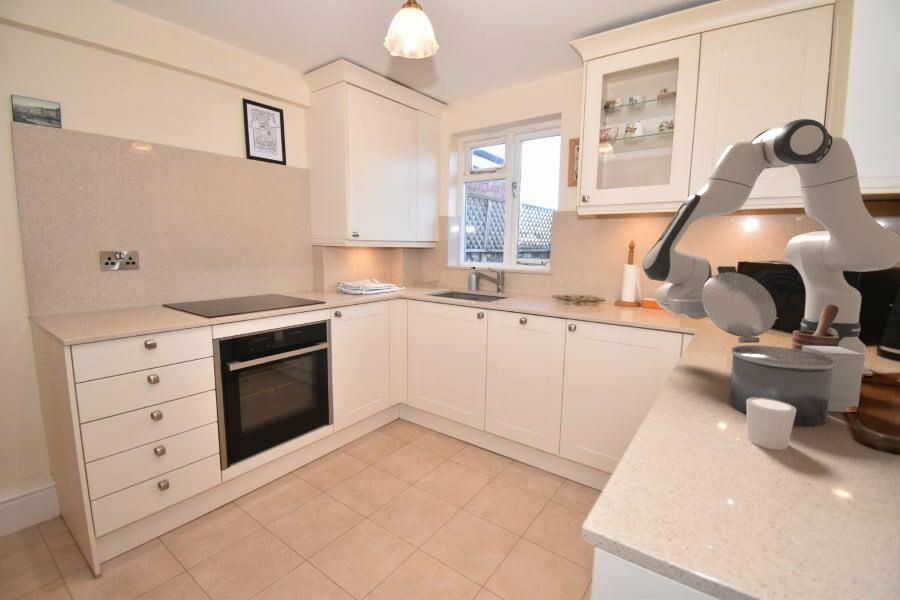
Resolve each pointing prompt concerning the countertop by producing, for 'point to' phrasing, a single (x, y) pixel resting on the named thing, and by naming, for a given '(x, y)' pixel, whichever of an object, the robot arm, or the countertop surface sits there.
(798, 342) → the mortar and pestle
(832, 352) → the supplement box
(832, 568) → the countertop surface
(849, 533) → the countertop surface
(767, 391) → the cooker pot
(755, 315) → the cooker lid
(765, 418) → the white tapered cup
